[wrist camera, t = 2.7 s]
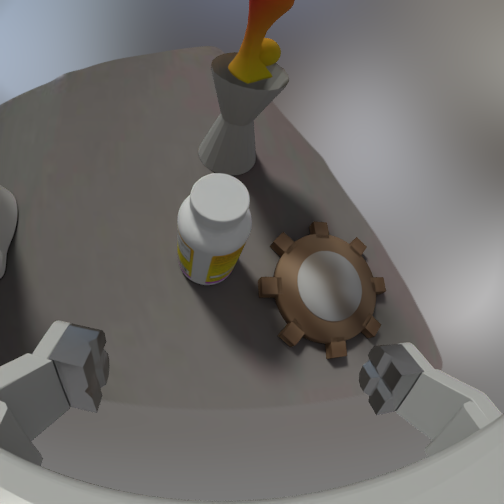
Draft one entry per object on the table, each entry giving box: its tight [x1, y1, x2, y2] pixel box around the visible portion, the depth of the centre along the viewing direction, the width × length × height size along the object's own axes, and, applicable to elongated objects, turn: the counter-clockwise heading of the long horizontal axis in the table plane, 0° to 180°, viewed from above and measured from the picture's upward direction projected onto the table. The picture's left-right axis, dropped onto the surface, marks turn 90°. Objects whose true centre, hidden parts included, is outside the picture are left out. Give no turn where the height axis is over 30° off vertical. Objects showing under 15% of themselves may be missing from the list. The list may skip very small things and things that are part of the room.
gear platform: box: [258, 222, 386, 359], centre depth 34 cm, size 18×18×2 cm
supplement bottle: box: [177, 173, 252, 285], centre depth 27 cm, size 7×7×13 cm
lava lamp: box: [198, 0, 294, 176], centre depth 25 cm, size 9×9×35 cm
